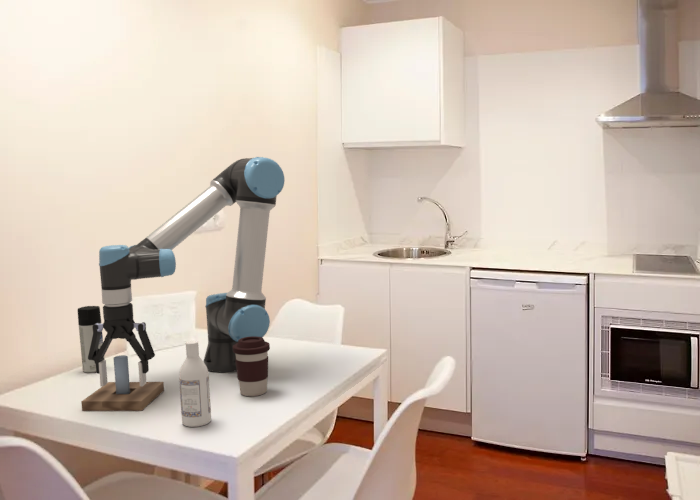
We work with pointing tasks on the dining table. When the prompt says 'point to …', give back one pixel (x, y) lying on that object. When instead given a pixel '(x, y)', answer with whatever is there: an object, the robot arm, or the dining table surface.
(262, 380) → the coffee cup
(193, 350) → the bath foam
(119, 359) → the peg
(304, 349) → the dining table surface
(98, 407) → the socket plate
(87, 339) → the spray can
